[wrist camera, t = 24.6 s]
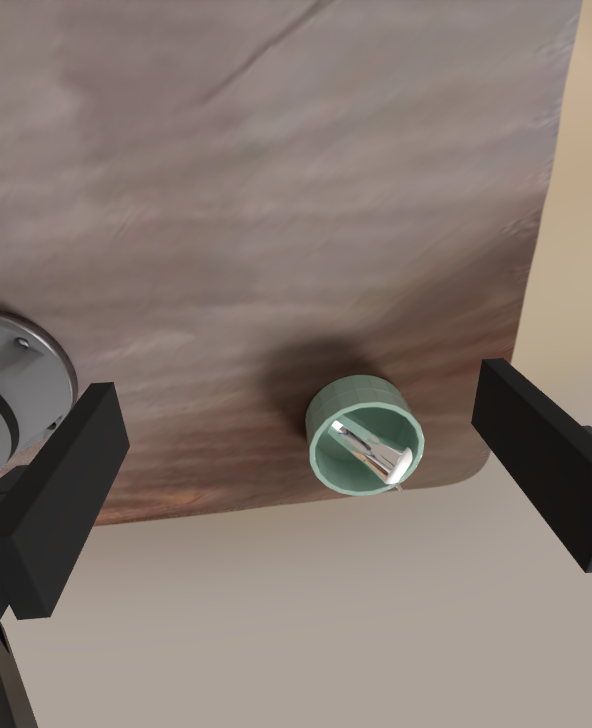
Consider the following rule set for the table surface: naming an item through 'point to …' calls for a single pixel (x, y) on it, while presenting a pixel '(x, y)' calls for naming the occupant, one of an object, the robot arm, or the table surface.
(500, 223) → the table surface
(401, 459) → the milkshake
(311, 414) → the pot
